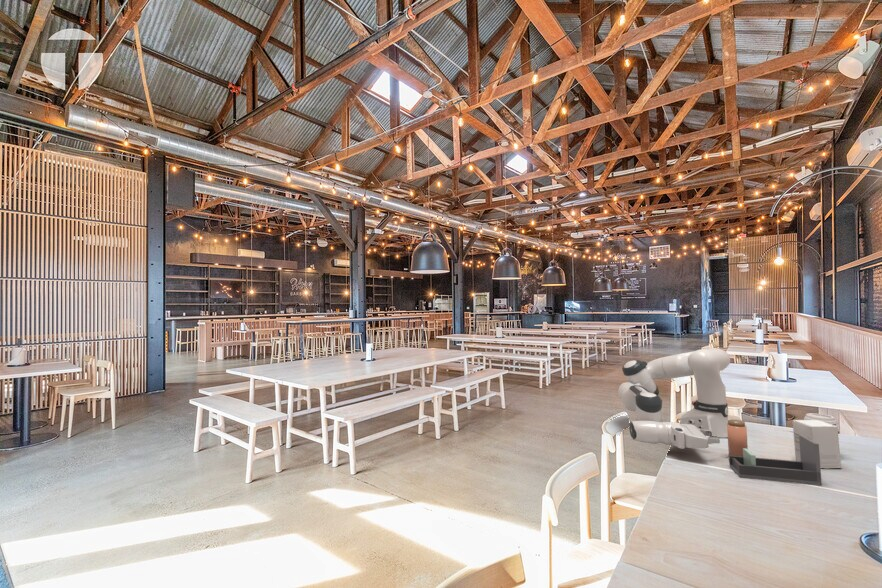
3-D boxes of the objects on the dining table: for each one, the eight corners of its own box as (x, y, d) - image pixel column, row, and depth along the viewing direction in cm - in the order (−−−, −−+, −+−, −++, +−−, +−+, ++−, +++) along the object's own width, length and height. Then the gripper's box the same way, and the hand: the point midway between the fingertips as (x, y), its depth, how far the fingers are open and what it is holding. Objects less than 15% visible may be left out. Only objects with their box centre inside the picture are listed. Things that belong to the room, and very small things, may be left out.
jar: (726, 458, 152) (724, 420, 153) (732, 454, 156) (730, 418, 157) (745, 462, 148) (742, 424, 148) (750, 458, 151) (748, 421, 152)
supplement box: (820, 460, 149) (817, 419, 149) (842, 469, 140) (839, 426, 141) (794, 459, 149) (791, 419, 150) (814, 468, 141) (811, 425, 141)
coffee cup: (847, 459, 149) (844, 418, 150) (821, 459, 149) (818, 419, 150) (823, 450, 158) (820, 412, 159) (799, 450, 159) (796, 412, 159)
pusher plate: (752, 473, 134) (751, 455, 135) (743, 465, 141) (742, 448, 142) (756, 473, 134) (755, 455, 134) (747, 465, 141) (746, 448, 141)
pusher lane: (739, 477, 135) (737, 438, 135) (729, 466, 144) (727, 430, 145) (821, 485, 127) (818, 444, 128) (805, 473, 137) (802, 435, 137)
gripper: (669, 434, 169) (707, 437, 164) (681, 450, 149) (724, 453, 145) (669, 419, 169) (706, 421, 164) (680, 433, 150) (723, 436, 145)
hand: (715, 436), depth 154 cm, fingers open, 8 cm apart
